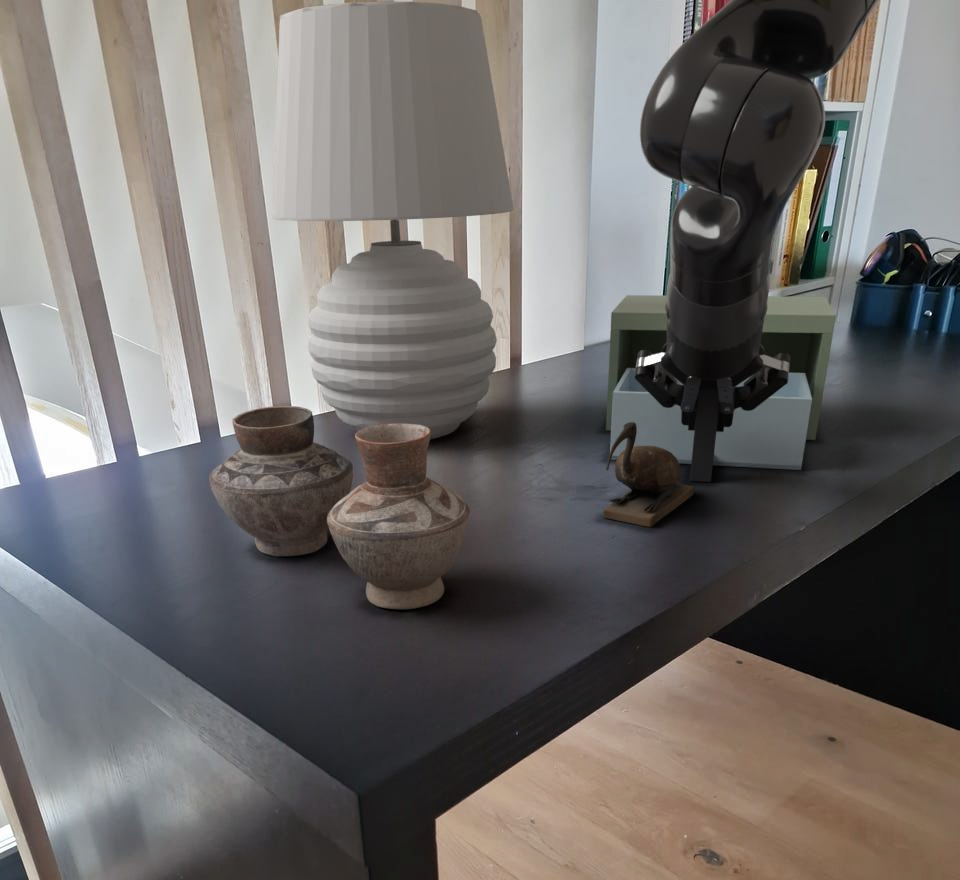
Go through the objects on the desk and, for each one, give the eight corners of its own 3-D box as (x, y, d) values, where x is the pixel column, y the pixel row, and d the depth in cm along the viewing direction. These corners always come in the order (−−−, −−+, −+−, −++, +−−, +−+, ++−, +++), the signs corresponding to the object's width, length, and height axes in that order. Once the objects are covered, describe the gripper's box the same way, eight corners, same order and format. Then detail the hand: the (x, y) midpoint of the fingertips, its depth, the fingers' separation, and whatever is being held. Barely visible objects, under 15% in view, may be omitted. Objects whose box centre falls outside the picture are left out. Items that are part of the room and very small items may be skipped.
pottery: (392, 643, 56) (377, 466, 50) (196, 547, 71) (167, 402, 66) (508, 587, 63) (507, 426, 57) (307, 510, 78) (290, 377, 73)
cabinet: (815, 440, 94) (836, 315, 88) (605, 430, 99) (611, 312, 93) (807, 409, 106) (825, 296, 99) (620, 402, 111) (626, 295, 105)
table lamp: (403, 478, 86) (367, -17, 67) (257, 436, 101) (194, 23, 82) (558, 424, 102) (565, 13, 83) (412, 395, 118) (390, 42, 98)
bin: (804, 488, 80) (820, 390, 76) (602, 475, 85) (606, 383, 81) (795, 437, 95) (808, 353, 91) (623, 429, 100) (628, 349, 95)
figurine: (629, 544, 70) (635, 438, 65) (579, 533, 72) (583, 431, 68) (694, 494, 80) (703, 400, 75) (649, 486, 82) (656, 394, 78)
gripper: (813, 266, 66) (784, 391, 82) (632, 266, 69) (639, 386, 86) (806, 350, 64) (778, 461, 80) (620, 346, 67) (629, 453, 84)
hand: (706, 422), depth 83 cm, fingers closed on bin
